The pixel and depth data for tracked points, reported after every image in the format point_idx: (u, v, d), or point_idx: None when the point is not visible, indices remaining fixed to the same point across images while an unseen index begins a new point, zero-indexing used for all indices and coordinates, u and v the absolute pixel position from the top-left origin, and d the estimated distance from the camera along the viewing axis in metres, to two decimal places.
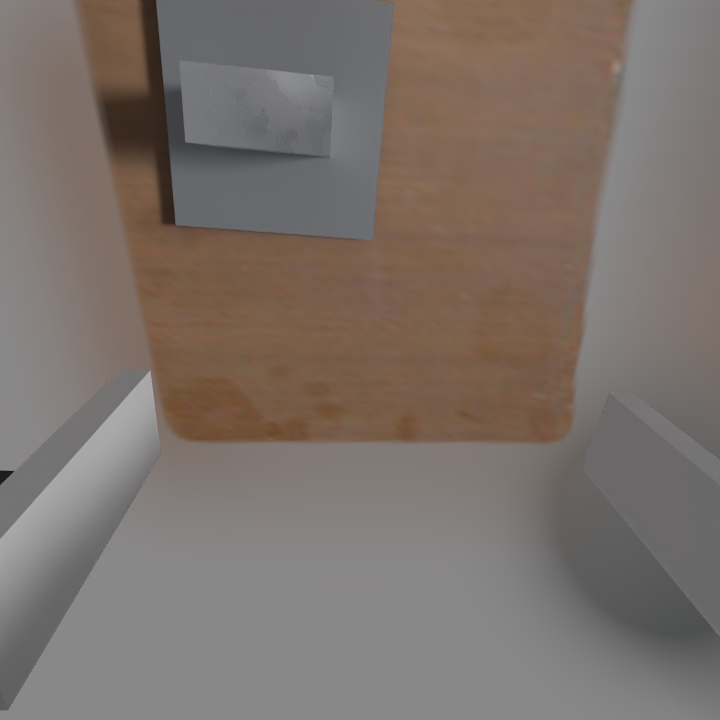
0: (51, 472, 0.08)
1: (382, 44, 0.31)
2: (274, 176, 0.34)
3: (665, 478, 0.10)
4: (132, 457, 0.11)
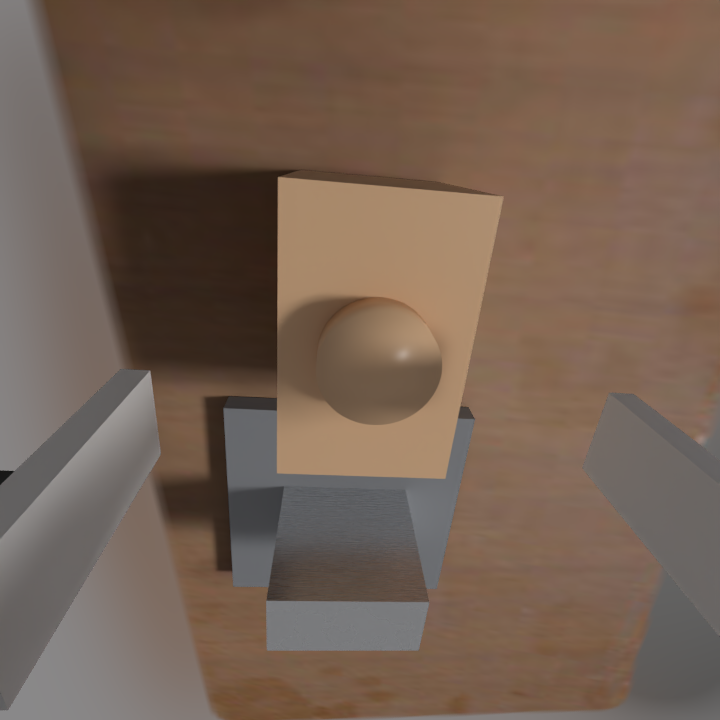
0: (51, 472, 0.08)
1: (459, 450, 0.29)
2: None
3: (665, 478, 0.10)
4: (132, 457, 0.11)
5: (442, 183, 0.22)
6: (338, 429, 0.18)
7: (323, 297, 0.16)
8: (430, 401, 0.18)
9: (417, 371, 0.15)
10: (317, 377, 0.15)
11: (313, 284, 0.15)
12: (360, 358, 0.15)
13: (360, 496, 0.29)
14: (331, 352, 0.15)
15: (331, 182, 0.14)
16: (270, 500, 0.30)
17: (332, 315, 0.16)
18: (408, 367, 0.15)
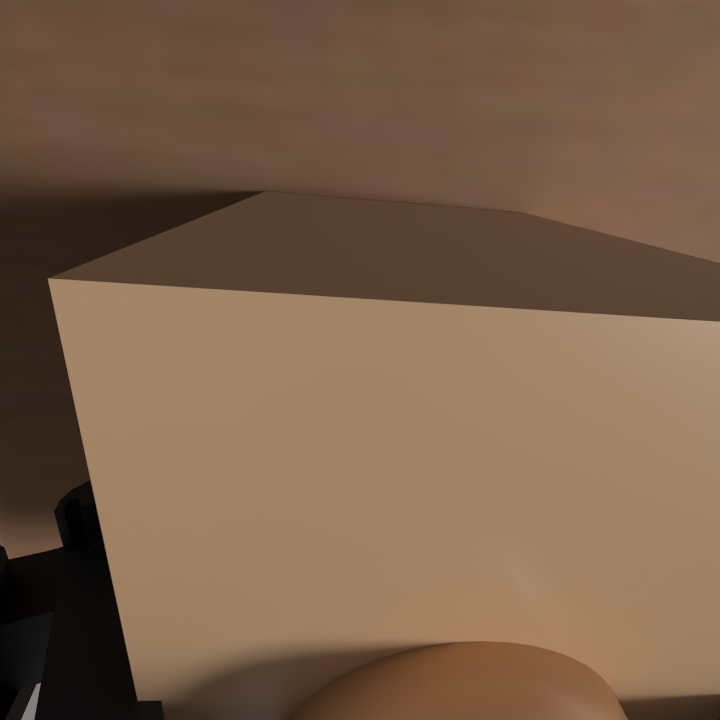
0: None
1: None
2: None
3: None
4: None
5: (546, 220, 0.11)
6: None
7: (288, 650, 0.05)
8: None
9: None
10: None
11: (251, 622, 0.04)
12: None
13: None
14: None
15: (307, 297, 0.03)
16: None
17: (319, 688, 0.05)
18: None
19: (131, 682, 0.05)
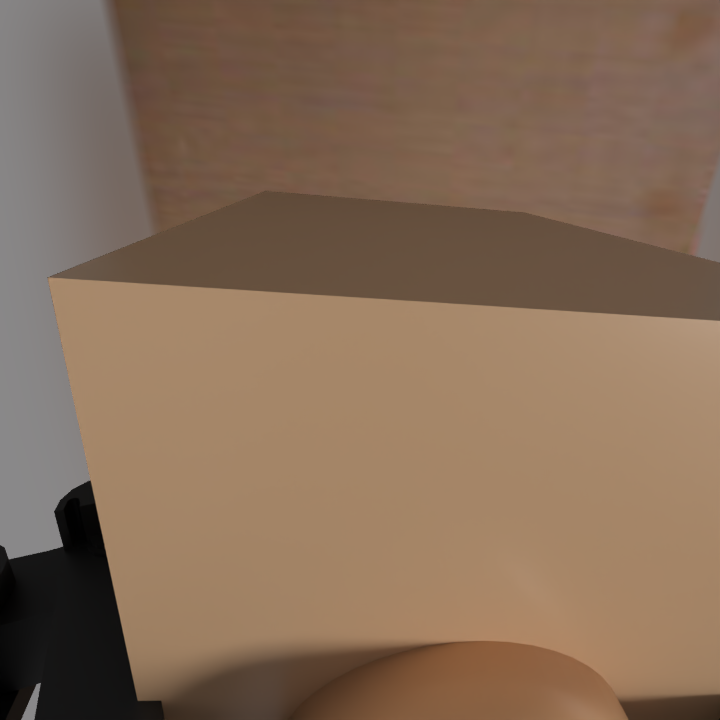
0: None
1: None
2: None
3: None
4: None
5: (546, 219, 0.11)
6: None
7: (288, 649, 0.05)
8: None
9: None
10: None
11: (251, 622, 0.04)
12: None
13: None
14: None
15: (307, 296, 0.03)
16: None
17: (319, 687, 0.05)
18: None
19: (132, 682, 0.05)
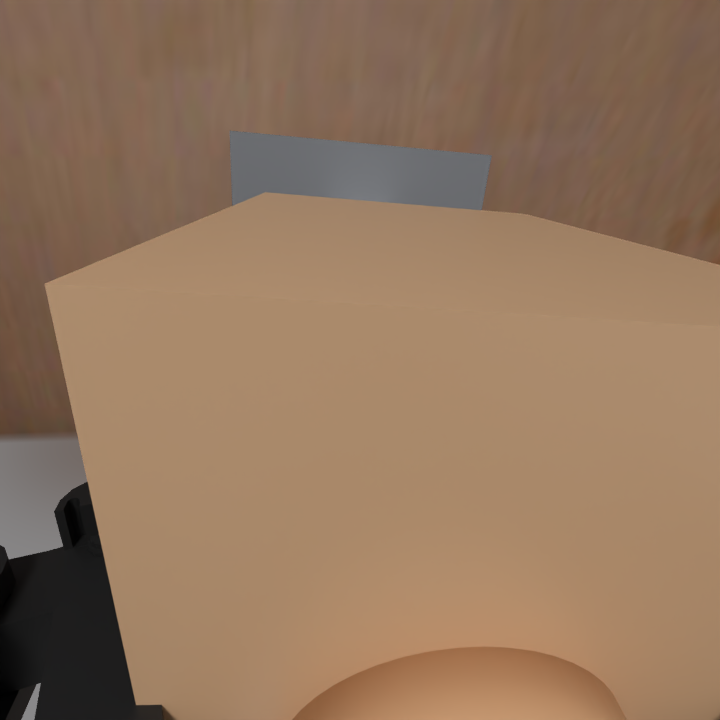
0: None
1: (271, 144, 0.26)
2: None
3: None
4: None
5: (547, 221, 0.11)
6: None
7: (287, 655, 0.05)
8: None
9: None
10: None
11: (250, 628, 0.04)
12: None
13: None
14: None
15: (306, 302, 0.03)
16: None
17: (319, 694, 0.05)
18: None
19: None
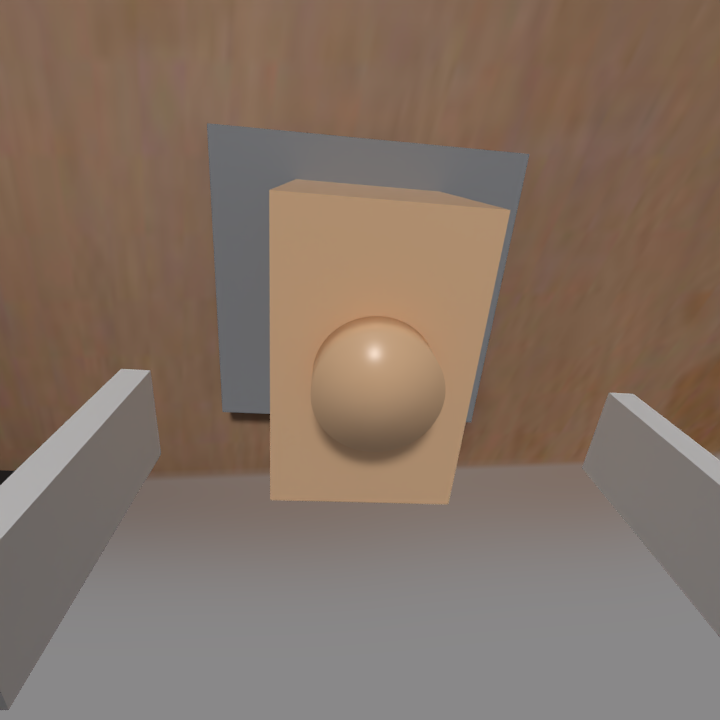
0: (51, 472, 0.08)
1: (259, 141, 0.21)
2: None
3: (665, 478, 0.10)
4: (132, 457, 0.11)
5: (443, 193, 0.21)
6: (335, 454, 0.17)
7: (318, 316, 0.15)
8: (432, 424, 0.17)
9: (419, 395, 0.14)
10: (312, 402, 0.14)
11: (307, 303, 0.14)
12: (358, 382, 0.14)
13: None
14: (327, 376, 0.14)
15: (326, 195, 0.13)
16: None
17: (328, 335, 0.15)
18: (409, 391, 0.14)
19: None
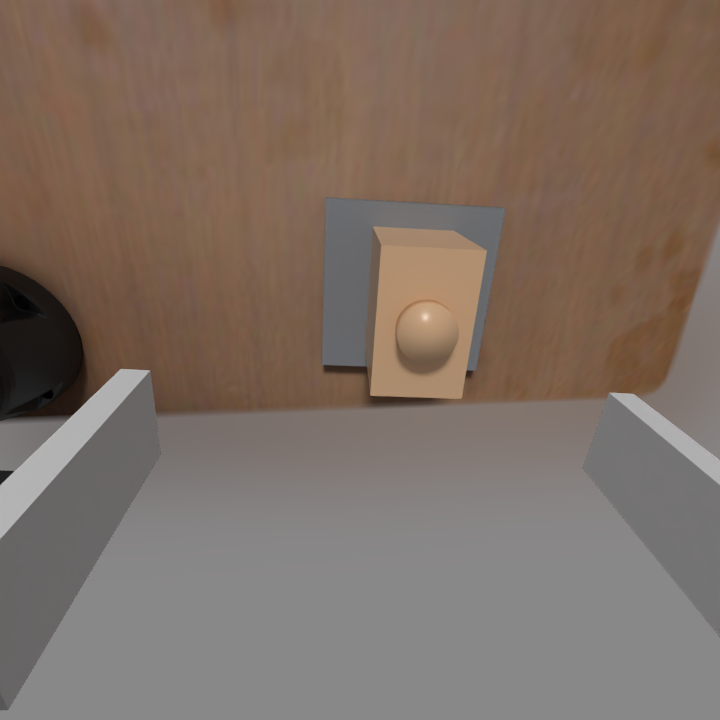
0: (51, 472, 0.08)
1: (353, 206, 0.38)
2: None
3: (665, 478, 0.10)
4: (132, 457, 0.11)
5: (456, 233, 0.38)
6: (404, 370, 0.34)
7: (399, 300, 0.32)
8: (452, 353, 0.33)
9: (446, 335, 0.31)
10: (398, 339, 0.31)
11: (395, 294, 0.31)
12: (419, 329, 0.31)
13: None
14: (405, 326, 0.31)
15: (405, 246, 0.30)
16: None
17: (403, 309, 0.32)
18: (442, 333, 0.31)
19: None
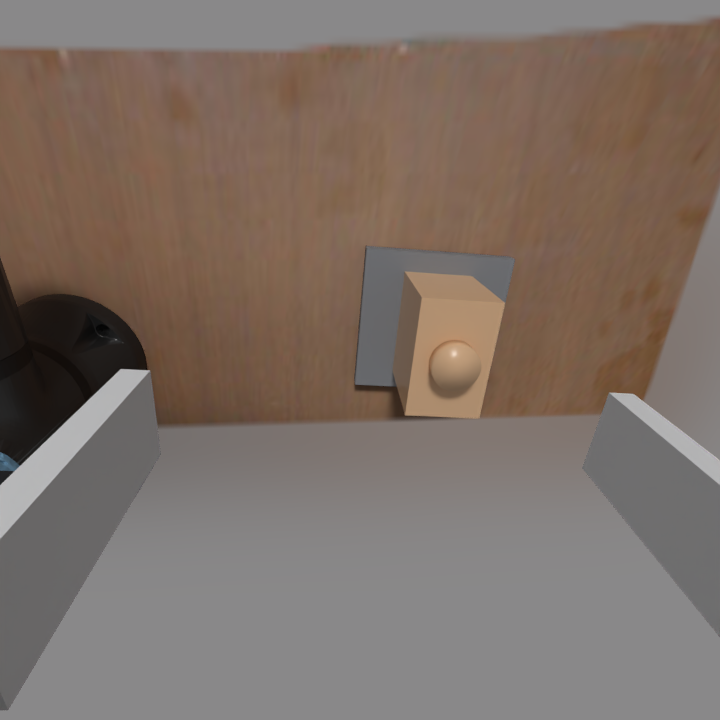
0: (51, 472, 0.08)
1: (389, 255, 0.46)
2: None
3: (665, 478, 0.10)
4: (132, 457, 0.11)
5: (475, 280, 0.45)
6: (434, 395, 0.41)
7: (433, 340, 0.39)
8: (474, 382, 0.41)
9: (471, 369, 0.39)
10: (432, 371, 0.39)
11: (430, 335, 0.39)
12: (450, 364, 0.38)
13: None
14: (439, 362, 0.38)
15: (441, 299, 0.38)
16: None
17: (436, 347, 0.39)
18: (468, 367, 0.39)
19: None
